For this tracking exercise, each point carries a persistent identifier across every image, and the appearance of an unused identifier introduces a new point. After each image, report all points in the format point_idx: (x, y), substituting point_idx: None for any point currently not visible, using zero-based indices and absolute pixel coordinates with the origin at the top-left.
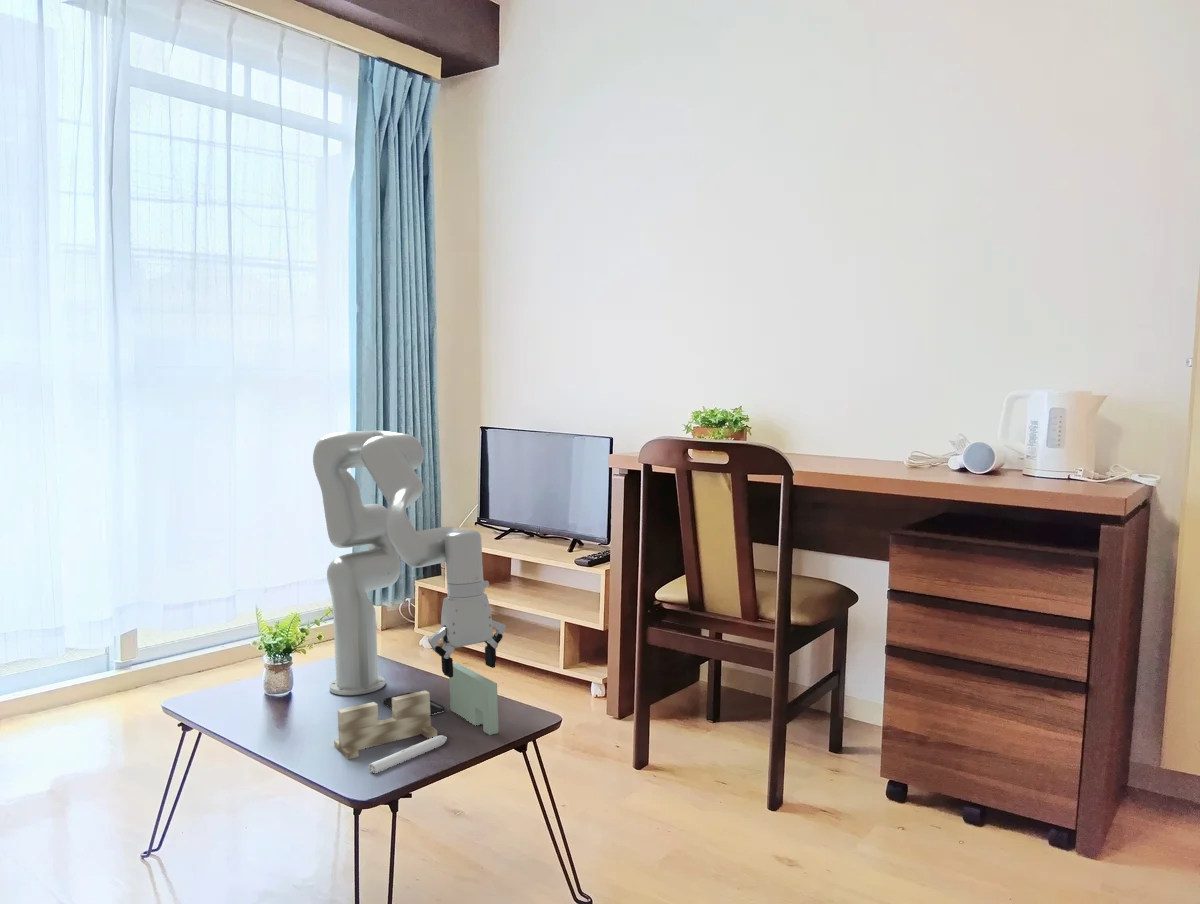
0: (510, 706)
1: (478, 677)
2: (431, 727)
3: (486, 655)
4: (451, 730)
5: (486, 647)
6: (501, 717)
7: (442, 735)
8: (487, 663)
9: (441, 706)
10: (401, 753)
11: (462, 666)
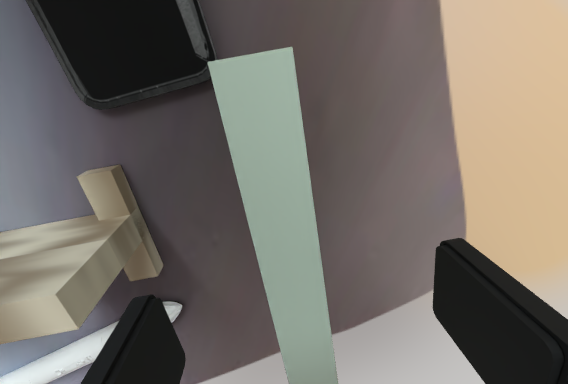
0: (427, 139)
1: (310, 381)
2: (143, 251)
3: (486, 311)
4: (207, 242)
5: (563, 369)
6: (360, 212)
7: None
8: (443, 277)
9: (206, 40)
10: (59, 376)
11: (298, 175)
